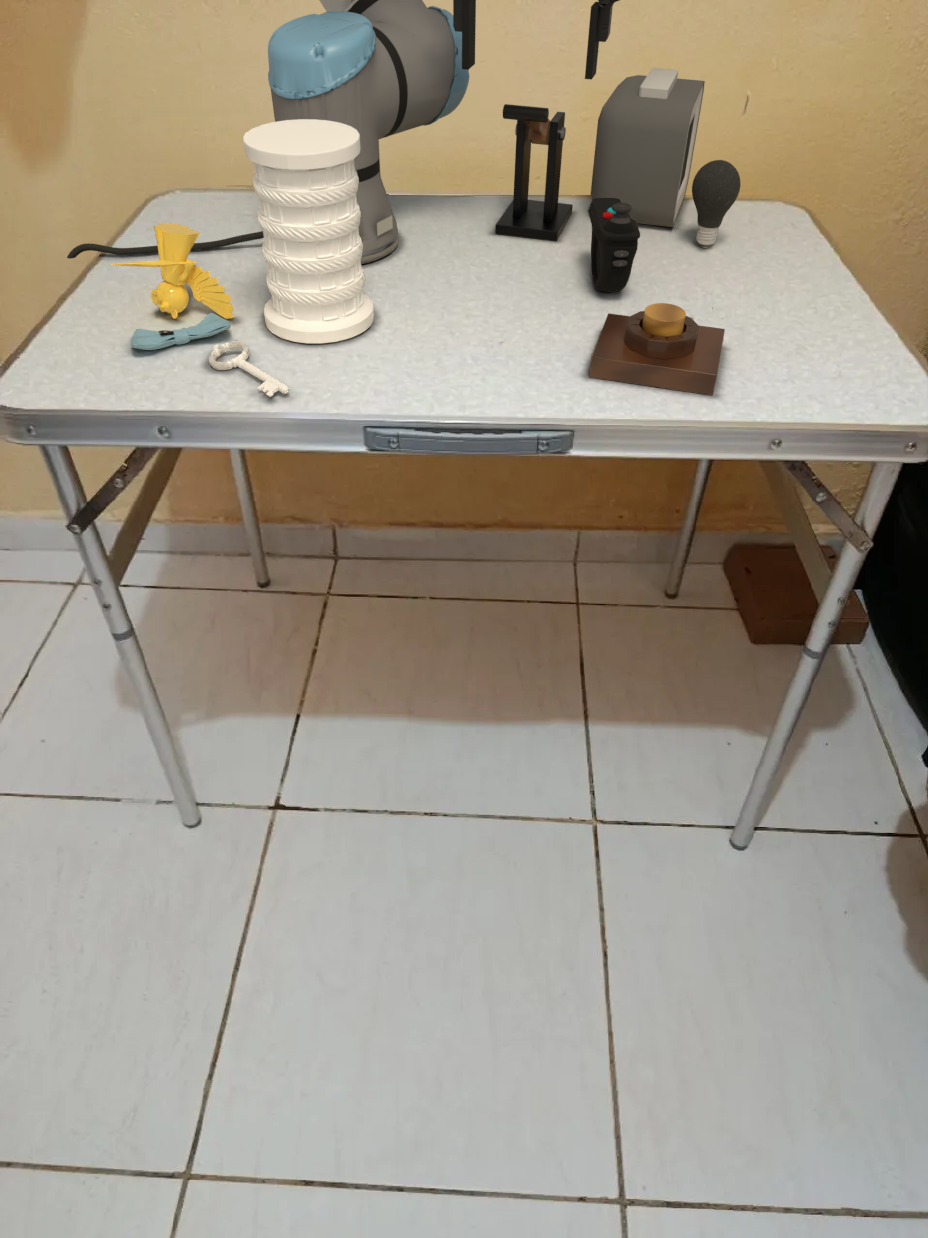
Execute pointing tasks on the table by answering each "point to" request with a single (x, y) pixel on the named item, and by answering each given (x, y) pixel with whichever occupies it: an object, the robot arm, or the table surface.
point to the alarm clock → (648, 144)
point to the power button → (663, 319)
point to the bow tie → (178, 334)
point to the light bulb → (714, 197)
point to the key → (245, 366)
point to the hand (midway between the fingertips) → (528, 71)
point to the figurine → (182, 273)
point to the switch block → (658, 355)
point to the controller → (612, 243)
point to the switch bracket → (547, 214)
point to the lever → (531, 121)
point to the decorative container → (310, 229)
